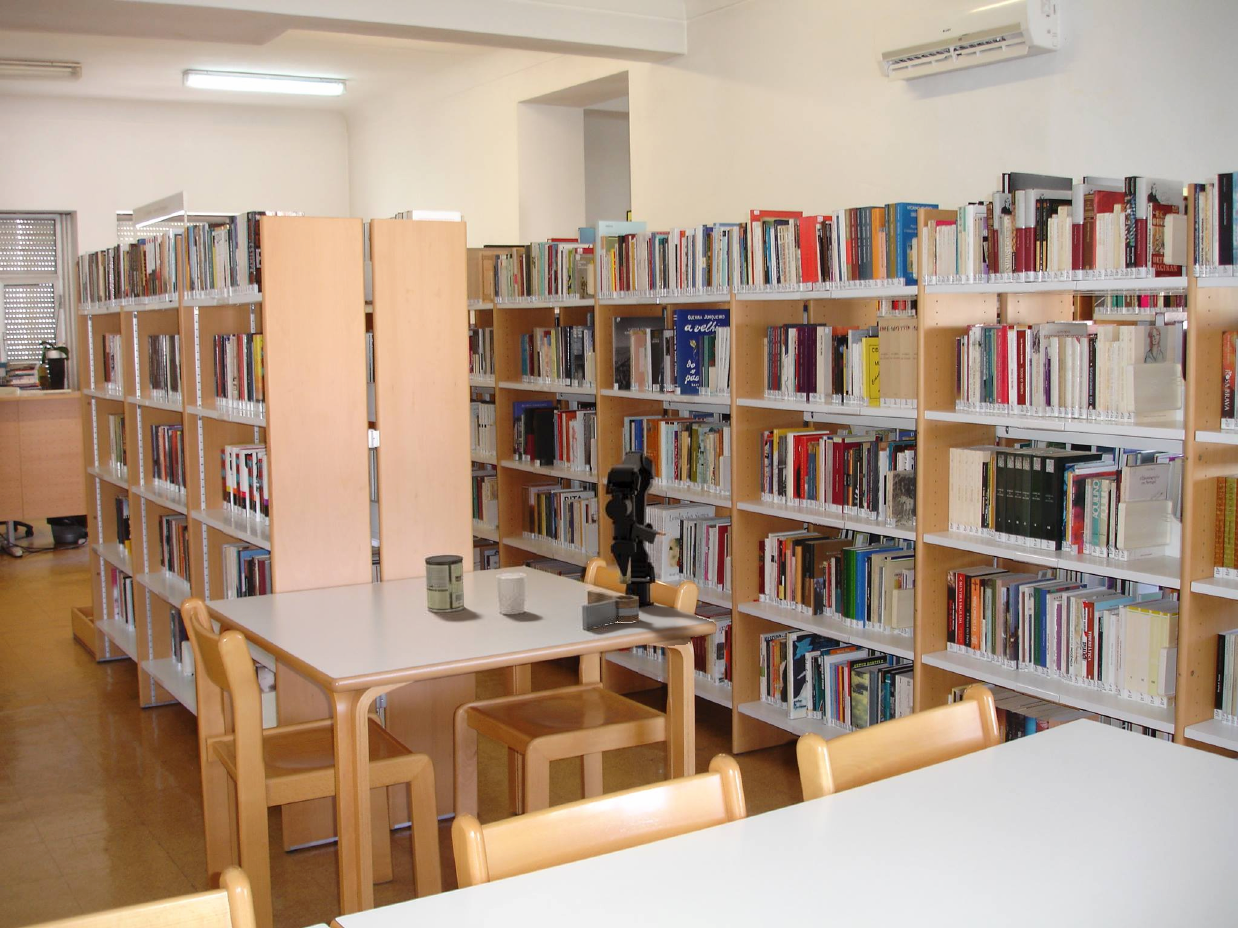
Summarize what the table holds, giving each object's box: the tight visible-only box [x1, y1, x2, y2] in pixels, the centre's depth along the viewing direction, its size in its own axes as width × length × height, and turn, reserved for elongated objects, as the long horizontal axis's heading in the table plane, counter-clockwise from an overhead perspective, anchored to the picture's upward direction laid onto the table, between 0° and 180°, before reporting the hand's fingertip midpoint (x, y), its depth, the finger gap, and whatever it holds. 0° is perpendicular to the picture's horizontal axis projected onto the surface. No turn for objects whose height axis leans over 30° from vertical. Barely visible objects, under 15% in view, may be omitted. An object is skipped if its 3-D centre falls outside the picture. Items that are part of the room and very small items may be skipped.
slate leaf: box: [581, 600, 640, 630], centre depth 303 cm, size 18×7×6 cm, turn 132°
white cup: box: [496, 572, 527, 615], centre depth 319 cm, size 8×8×10 cm
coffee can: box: [424, 554, 465, 613], centre depth 325 cm, size 10×10×14 cm
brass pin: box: [618, 560, 631, 585], centre depth 305 cm, size 3×3×8 cm
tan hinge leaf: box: [586, 589, 640, 622], centre depth 310 cm, size 18×7×6 cm, turn 42°
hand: (624, 575), depth 306 cm, fingers closed on brass pin, 3 cm apart
